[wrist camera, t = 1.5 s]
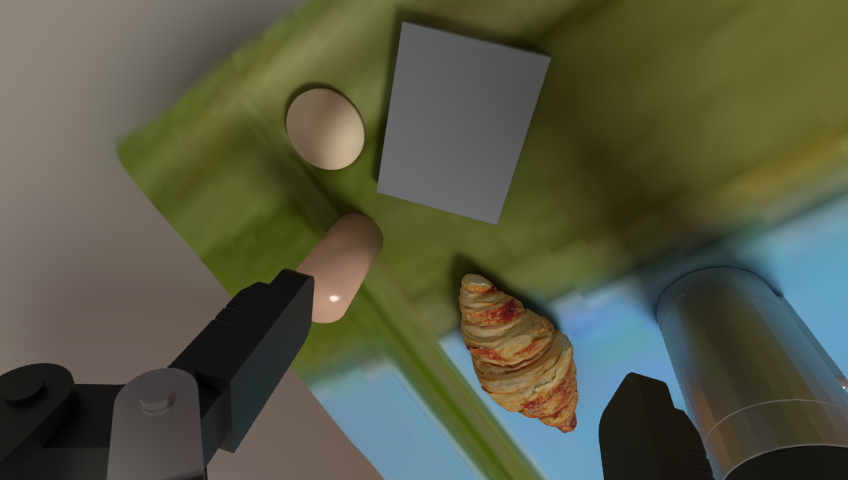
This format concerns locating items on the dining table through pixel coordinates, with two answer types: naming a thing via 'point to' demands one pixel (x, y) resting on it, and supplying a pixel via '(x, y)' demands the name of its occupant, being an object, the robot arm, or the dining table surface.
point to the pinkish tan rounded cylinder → (341, 264)
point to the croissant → (518, 355)
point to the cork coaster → (325, 128)
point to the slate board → (458, 120)
